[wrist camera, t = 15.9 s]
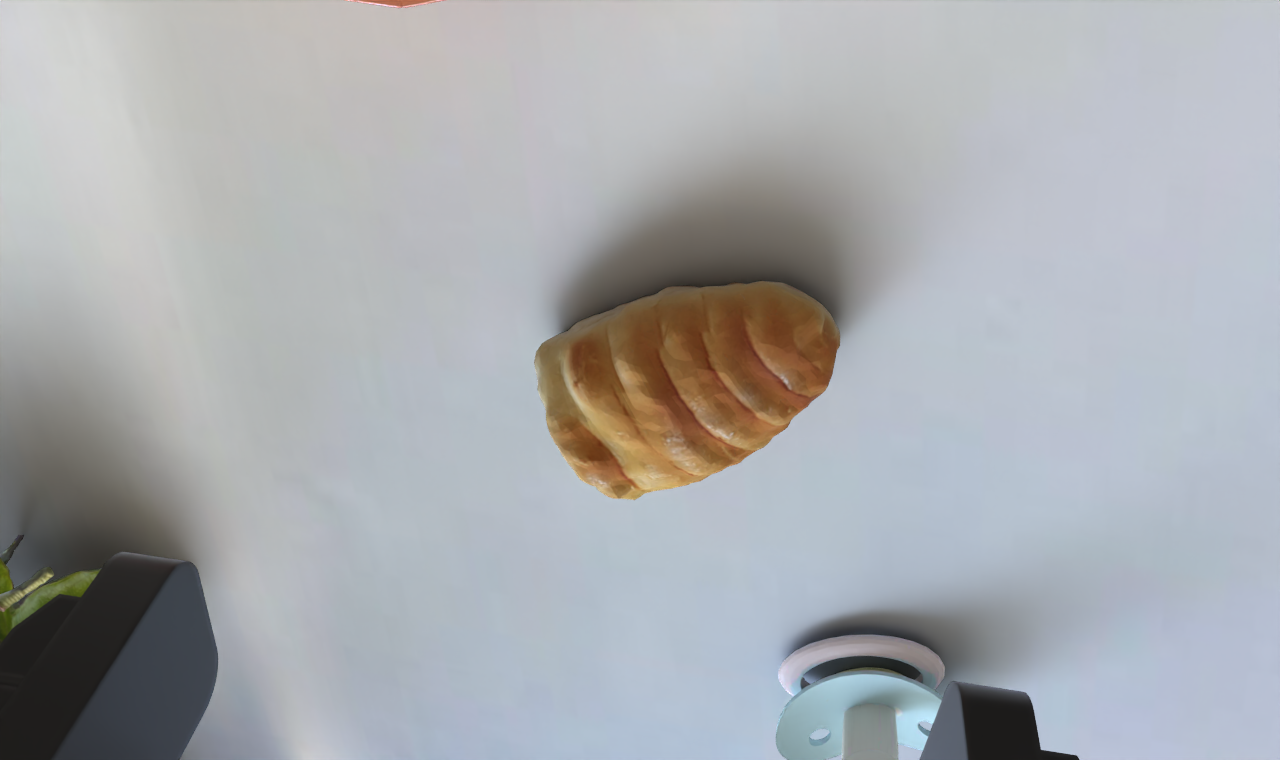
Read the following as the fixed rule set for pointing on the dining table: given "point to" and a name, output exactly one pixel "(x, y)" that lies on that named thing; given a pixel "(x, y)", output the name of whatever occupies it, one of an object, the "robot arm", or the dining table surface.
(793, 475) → the dining table surface
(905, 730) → the pacifier
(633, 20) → the dining table surface
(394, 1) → the bowl
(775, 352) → the pastry
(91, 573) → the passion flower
